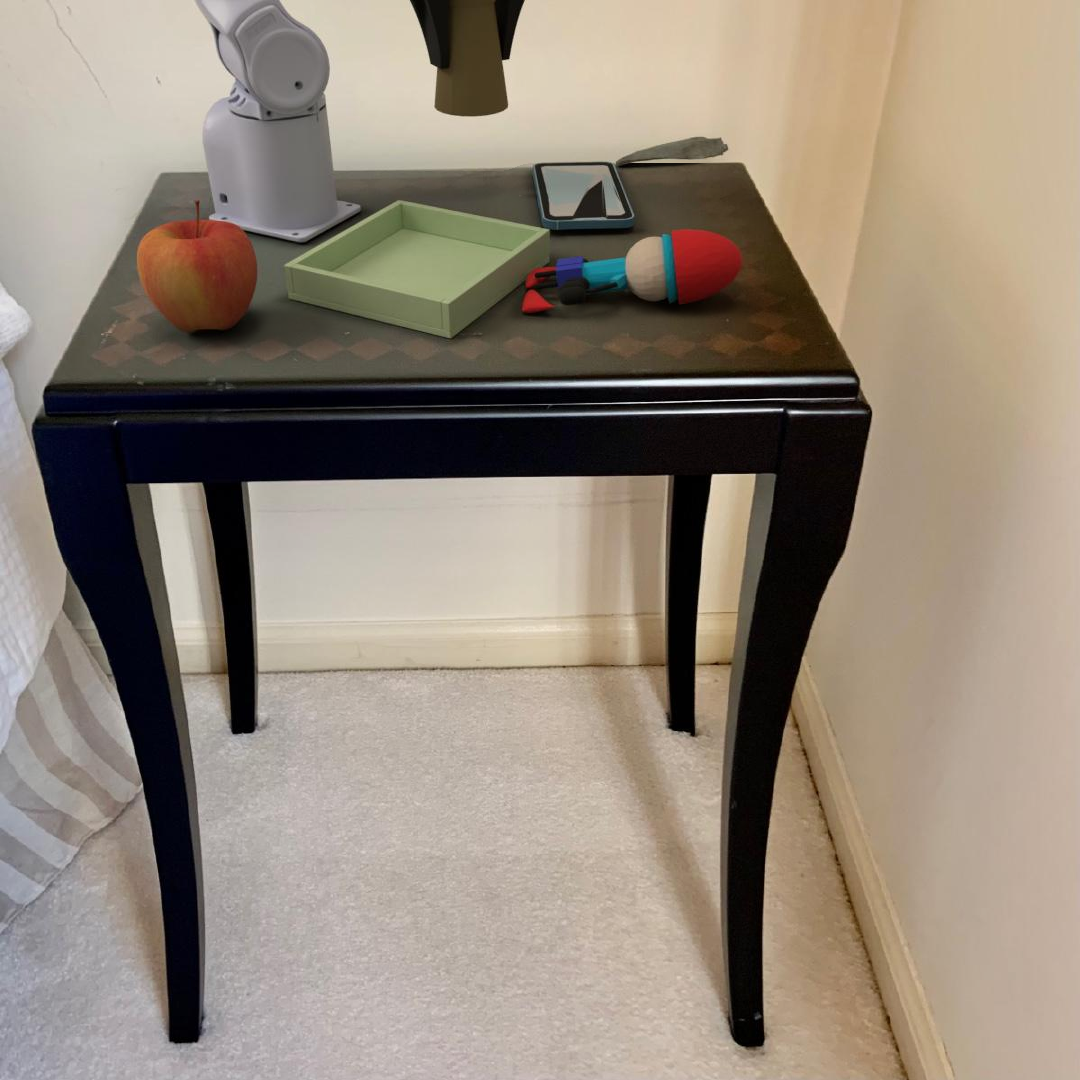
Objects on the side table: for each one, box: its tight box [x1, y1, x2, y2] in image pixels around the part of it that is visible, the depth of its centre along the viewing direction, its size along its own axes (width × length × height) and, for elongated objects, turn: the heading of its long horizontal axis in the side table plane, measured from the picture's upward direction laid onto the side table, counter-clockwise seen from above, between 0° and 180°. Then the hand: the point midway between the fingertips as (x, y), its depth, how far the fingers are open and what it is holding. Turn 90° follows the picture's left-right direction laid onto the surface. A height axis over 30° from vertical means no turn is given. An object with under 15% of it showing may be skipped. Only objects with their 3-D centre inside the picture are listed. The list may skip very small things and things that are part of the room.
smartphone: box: [532, 160, 636, 232], centre depth 91 cm, size 7×1×15 cm
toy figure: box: [521, 228, 743, 314], centre depth 75 cm, size 8×5×15 cm
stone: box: [615, 136, 729, 167], centre depth 100 cm, size 11×2×5 cm
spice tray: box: [283, 199, 551, 339], centre depth 78 cm, size 13×14×2 cm
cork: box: [434, 0, 509, 118], centre depth 86 cm, size 6×6×11 cm
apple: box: [136, 199, 258, 334], centre depth 70 cm, size 7×7×8 cm
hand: (469, 61), depth 87 cm, fingers closed on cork, 5 cm apart
